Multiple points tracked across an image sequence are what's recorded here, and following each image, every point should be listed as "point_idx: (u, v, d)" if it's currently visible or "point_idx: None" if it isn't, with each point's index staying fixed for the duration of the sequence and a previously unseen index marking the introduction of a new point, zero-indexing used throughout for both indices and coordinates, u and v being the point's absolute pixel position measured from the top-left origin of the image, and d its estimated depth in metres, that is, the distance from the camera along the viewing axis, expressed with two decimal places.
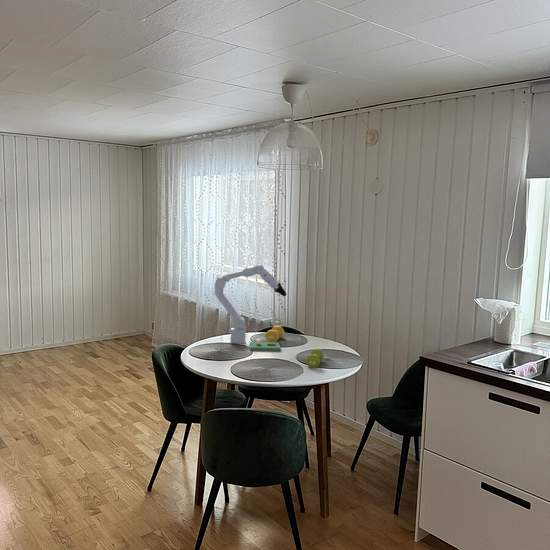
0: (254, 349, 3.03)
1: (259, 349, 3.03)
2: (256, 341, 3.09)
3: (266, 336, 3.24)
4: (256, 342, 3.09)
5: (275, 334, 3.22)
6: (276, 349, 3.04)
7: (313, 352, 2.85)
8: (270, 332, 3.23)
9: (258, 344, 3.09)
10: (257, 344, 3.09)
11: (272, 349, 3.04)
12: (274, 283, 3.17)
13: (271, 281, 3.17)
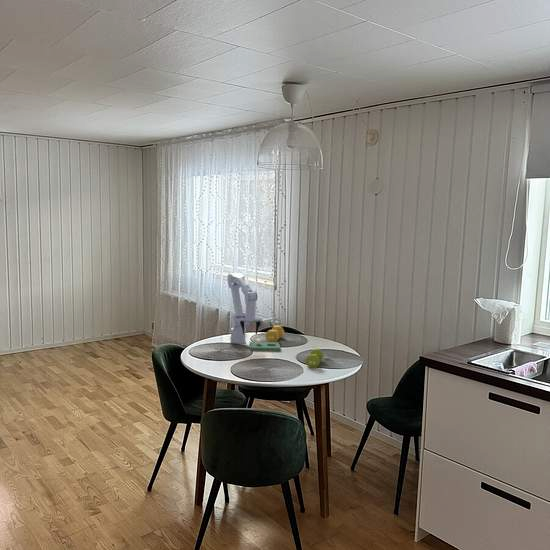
0: (254, 349, 3.03)
1: (259, 349, 3.03)
2: (256, 341, 3.09)
3: (266, 336, 3.24)
4: (256, 342, 3.09)
5: (275, 334, 3.22)
6: (276, 349, 3.04)
7: (313, 352, 2.85)
8: (270, 332, 3.23)
9: (258, 344, 3.09)
10: (257, 344, 3.09)
11: (272, 349, 3.04)
12: (245, 317, 3.07)
13: None
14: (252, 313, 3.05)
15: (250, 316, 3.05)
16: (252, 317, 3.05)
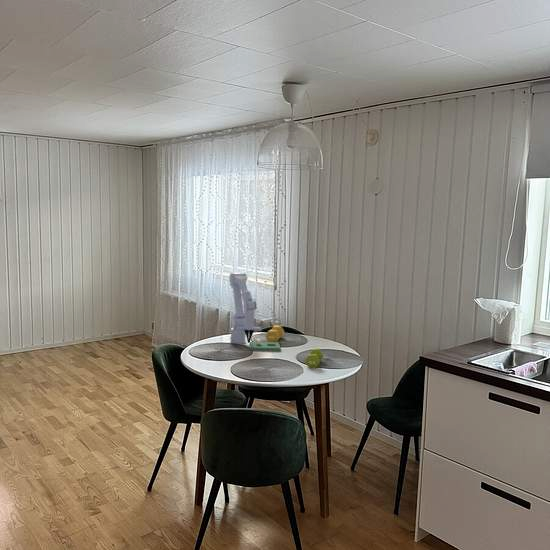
0: (254, 349, 3.03)
1: (259, 349, 3.03)
2: (256, 341, 3.09)
3: (267, 336, 3.24)
4: (256, 342, 3.09)
5: (276, 334, 3.22)
6: (276, 349, 3.04)
7: (312, 352, 2.85)
8: (271, 332, 3.23)
9: (258, 344, 3.09)
10: (257, 344, 3.09)
11: (272, 349, 3.04)
12: (244, 326, 3.07)
13: (244, 322, 3.08)
14: (251, 322, 3.05)
15: (249, 325, 3.05)
16: (251, 326, 3.06)
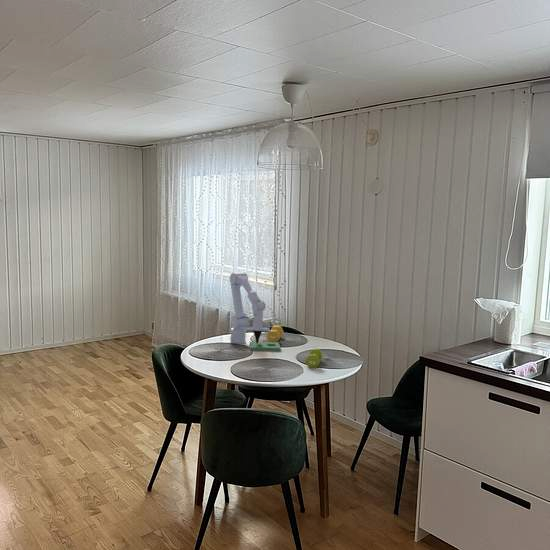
0: (254, 349, 3.03)
1: (259, 349, 3.03)
2: (258, 341, 3.09)
3: (267, 336, 3.23)
4: None
5: (276, 334, 3.22)
6: (276, 349, 3.04)
7: (312, 352, 2.85)
8: (271, 332, 3.23)
9: (258, 344, 3.09)
10: None
11: (272, 349, 3.04)
12: (253, 326, 3.08)
13: (253, 323, 3.08)
14: (259, 323, 3.06)
15: (257, 326, 3.06)
16: (259, 327, 3.06)
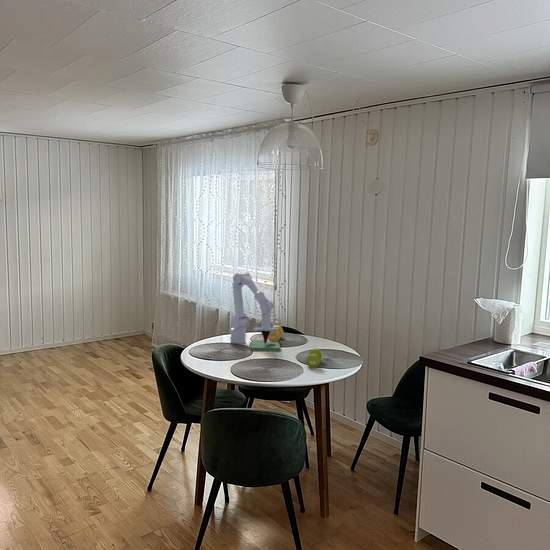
0: (254, 349, 3.03)
1: (259, 349, 3.03)
2: (269, 343, 3.09)
3: None
4: (269, 342, 3.09)
5: (276, 334, 3.22)
6: (276, 349, 3.04)
7: (312, 352, 2.85)
8: (271, 332, 3.23)
9: (268, 340, 3.09)
10: (269, 340, 3.09)
11: (272, 349, 3.04)
12: (261, 326, 3.08)
13: (261, 323, 3.09)
14: (268, 323, 3.06)
15: (265, 326, 3.06)
16: (267, 327, 3.07)
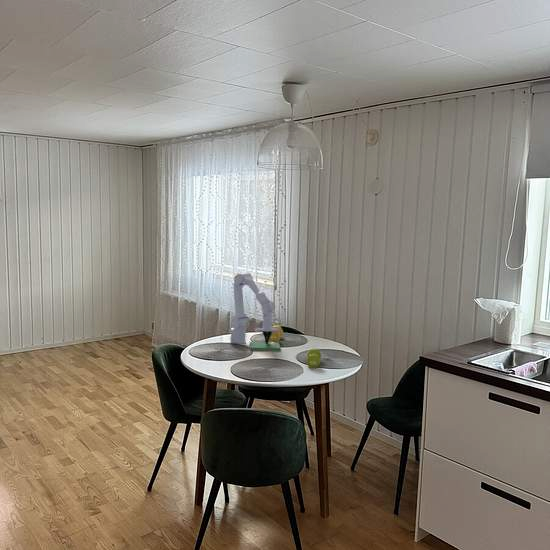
0: (254, 349, 3.03)
1: (259, 349, 3.03)
2: None
3: None
4: None
5: (277, 334, 3.22)
6: (276, 349, 3.04)
7: (311, 352, 2.85)
8: (272, 332, 3.23)
9: None
10: None
11: (272, 349, 3.04)
12: None
13: None
14: (269, 323, 3.07)
15: (267, 326, 3.06)
16: (269, 327, 3.07)
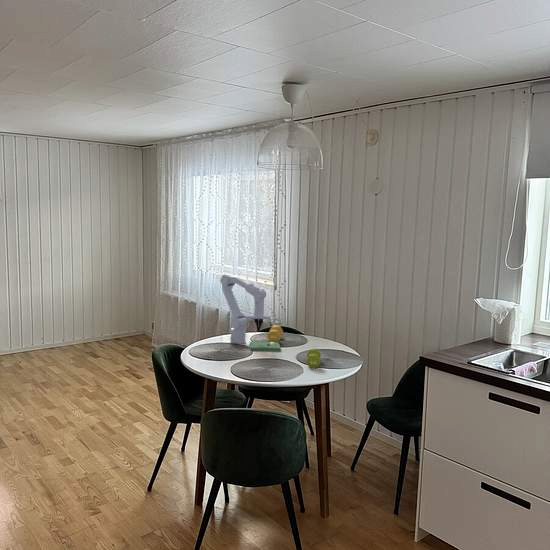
0: (254, 349, 3.03)
1: (259, 349, 3.03)
2: None
3: (268, 336, 3.23)
4: None
5: (277, 334, 3.23)
6: (276, 349, 3.04)
7: (310, 352, 2.85)
8: (272, 332, 3.23)
9: None
10: None
11: (272, 349, 3.04)
12: (254, 314, 3.12)
13: (254, 311, 3.12)
14: (260, 311, 3.10)
15: (258, 314, 3.10)
16: (260, 315, 3.11)
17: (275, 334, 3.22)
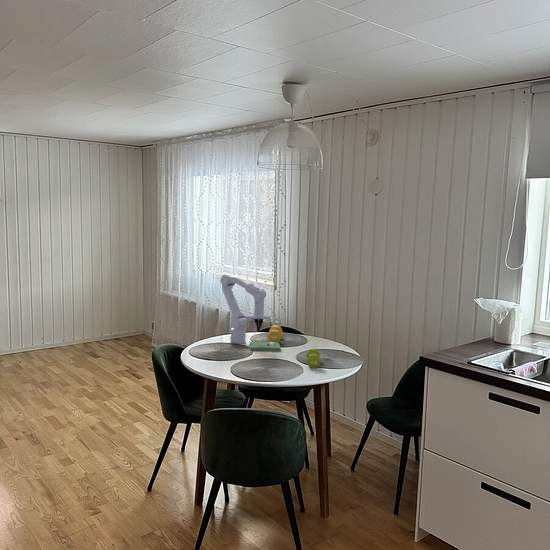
0: (254, 349, 3.03)
1: (259, 349, 3.03)
2: None
3: (269, 336, 3.23)
4: None
5: (278, 334, 3.23)
6: (276, 349, 3.04)
7: (310, 352, 2.84)
8: (273, 332, 3.23)
9: None
10: None
11: (272, 349, 3.04)
12: (254, 314, 3.12)
13: (254, 311, 3.12)
14: (260, 311, 3.10)
15: (258, 314, 3.10)
16: (260, 315, 3.11)
17: (276, 334, 3.22)
